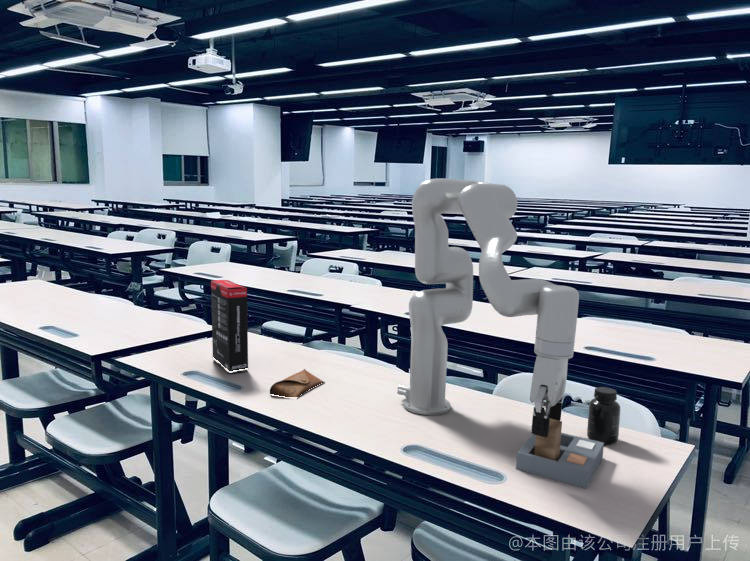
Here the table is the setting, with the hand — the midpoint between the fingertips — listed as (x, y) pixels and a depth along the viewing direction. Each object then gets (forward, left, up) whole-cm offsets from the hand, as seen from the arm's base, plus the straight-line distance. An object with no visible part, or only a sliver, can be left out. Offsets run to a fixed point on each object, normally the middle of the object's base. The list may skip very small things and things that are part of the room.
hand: (546, 427), depth 114 cm
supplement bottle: (+8, +22, -9) cm, 25 cm away
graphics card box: (-103, +10, -9) cm, 104 cm away
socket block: (+3, +4, -9) cm, 10 cm away
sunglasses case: (-72, +7, -9) cm, 73 cm away
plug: (+1, 0, -9) cm, 9 cm away
